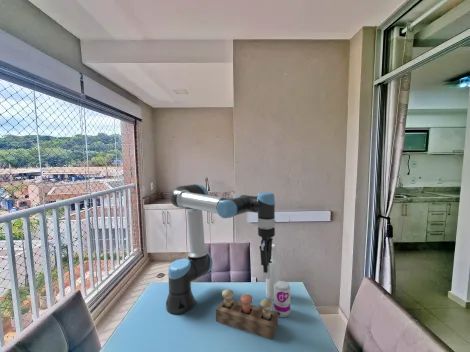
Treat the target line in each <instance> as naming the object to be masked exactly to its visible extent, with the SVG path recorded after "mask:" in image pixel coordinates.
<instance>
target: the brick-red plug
mask: <svg viewBox="0 0 470 352" xmlns="http://www.w3.org/2000/svg"><path fill="white" fill-rule="evenodd" d="M240 302H241V303H243V313H244V314H249V313H250V305H251V303H253V296H252V295H251V294H249V293H244V294H242V295H240Z"/></svg>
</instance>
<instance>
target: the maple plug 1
mask: <svg viewBox="0 0 470 352" xmlns="http://www.w3.org/2000/svg"><path fill="white" fill-rule="evenodd" d="M221 297H222V298H223V300H224V307H225V308H227V309H229V308H231V306H232V305H231V299H233V297H234V291H233V290H232V289H224V290H222V291H221Z"/></svg>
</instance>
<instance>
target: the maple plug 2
mask: <svg viewBox="0 0 470 352" xmlns="http://www.w3.org/2000/svg"><path fill="white" fill-rule="evenodd" d="M260 307H261V308H262V309H263V319H265V320H270V319H271V310H272V309H274V301H273V300H272V299H269V298H263V299H261V301H260Z"/></svg>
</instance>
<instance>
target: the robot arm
mask: <svg viewBox="0 0 470 352" xmlns="http://www.w3.org/2000/svg"><path fill="white" fill-rule="evenodd" d="M169 199H170V203H171V204H172V206H174V207H176V208H180V209H184V210H186V212H187V223H188V236H189V238H188V239H189V252H188V253H187V258H181V259H180V258H179V259H176V260H174V261H173V262H172V263H171V262H170V264H169V267H168V272H167V276H168V295H167V299H166V301H165V308H166V311H167V312H168V313H170V314H173V315H179V314H181V315H182V314H185V313H187V312H189V311H190V310H191V309H193V308H194V306H195V297H194V295H193V294H194V293H193V292H192V282H194V281H196V280H198V279H200V278H201V277H203V276H205V275H207V274H208V273H209V272H211V270H212V268H213V262H214V261H213V257H211V255H210V253H209V252H208V251H207V250H206V248H205V247H206V245H205V231H204V230H205V229H204V218H203V217H204V216H203V211H204V212H208V213H214V214H218V216H219V217H220V218H221V219H230V218H234V217H236V216H239V215H242V214H245V213H246V214H247V213H249V212H250V213H257V235H258V237H260V238H261V240H260V244H261V245H259V251H260V252H259V253H260V265H261V266H262V279H265V280H266V279H269V278H270V263H272V261H270V260H271V255H272V244H273V240H274V237H275V235H276V231H275V230H276V228H275V227H276V226H275V224H276V222H277V221H276V218H275V217H276V216H275V210H276V209H275V208H276V206H275V205H276V200H275V199H276V198H275V194H274V193H272V192H269V191H268V192H265V191H262V192H261V191H260V192H258V193H257V196H256V195H255V196H253V195H247V194H239V195H237V196H236V197H234V198H229V197H228V198H227V197H222V196H221V197H220V196H214V195H210V194H208V191H207V189H206V187H205V186H204V185H202V184H195V183H194V184H188V185H179V186H176V187H175V188H173V190H172V191H171V192H170V195H169Z"/></svg>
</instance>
